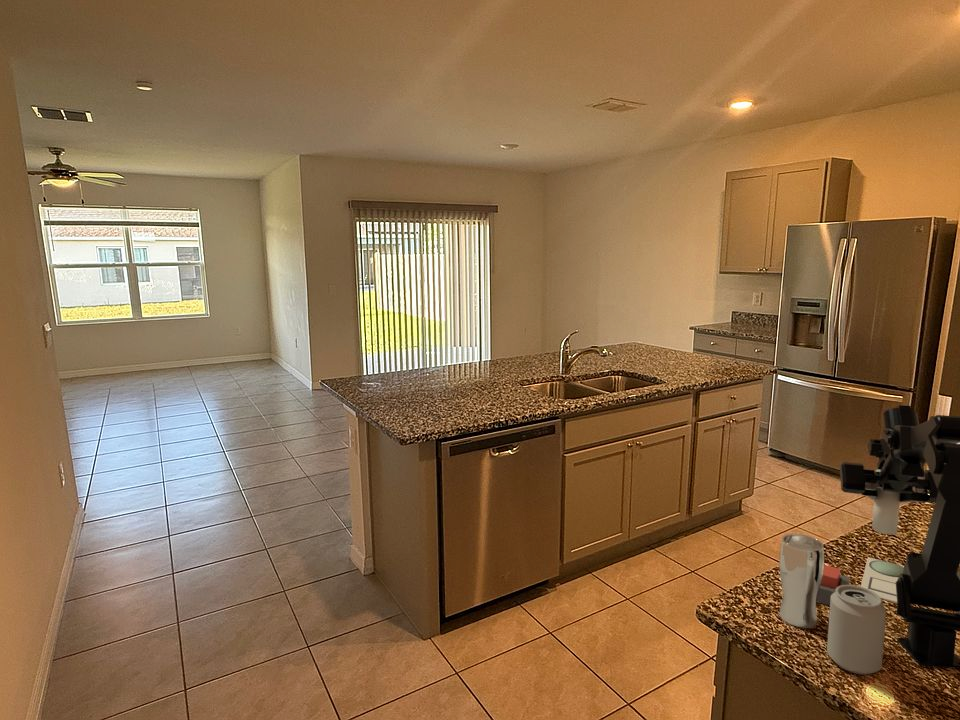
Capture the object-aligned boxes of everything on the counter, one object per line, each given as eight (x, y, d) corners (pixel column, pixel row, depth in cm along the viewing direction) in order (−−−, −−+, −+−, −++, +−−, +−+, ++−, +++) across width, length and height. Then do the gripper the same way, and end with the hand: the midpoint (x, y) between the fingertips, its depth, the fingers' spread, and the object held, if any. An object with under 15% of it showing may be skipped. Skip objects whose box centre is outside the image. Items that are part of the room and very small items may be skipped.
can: (864, 647, 95) (869, 581, 94) (891, 679, 88) (898, 608, 86) (817, 646, 96) (822, 580, 94) (841, 677, 89) (846, 607, 87)
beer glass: (797, 633, 100) (802, 553, 97) (768, 611, 106) (771, 536, 104) (829, 625, 102) (834, 547, 99) (798, 604, 108) (802, 530, 106)
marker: (895, 536, 119) (900, 477, 117) (869, 530, 122) (874, 473, 121) (899, 529, 123) (903, 471, 121) (873, 523, 126) (877, 467, 124)
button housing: (844, 609, 106) (845, 595, 105) (798, 596, 111) (799, 582, 110) (849, 591, 112) (850, 577, 111) (805, 579, 116) (806, 565, 116)
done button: (836, 593, 108) (837, 578, 107) (809, 585, 111) (810, 571, 110) (839, 583, 111) (840, 568, 111) (813, 576, 114) (814, 562, 113)
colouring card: (907, 606, 106) (907, 604, 106) (859, 593, 111) (859, 591, 111) (911, 568, 119) (911, 567, 119) (867, 558, 124) (867, 556, 124)
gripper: (954, 434, 112) (932, 470, 123) (844, 426, 119) (832, 461, 131) (965, 486, 106) (941, 518, 117) (848, 474, 113) (836, 506, 125)
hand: (885, 498), depth 123 cm, fingers closed on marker, 4 cm apart
